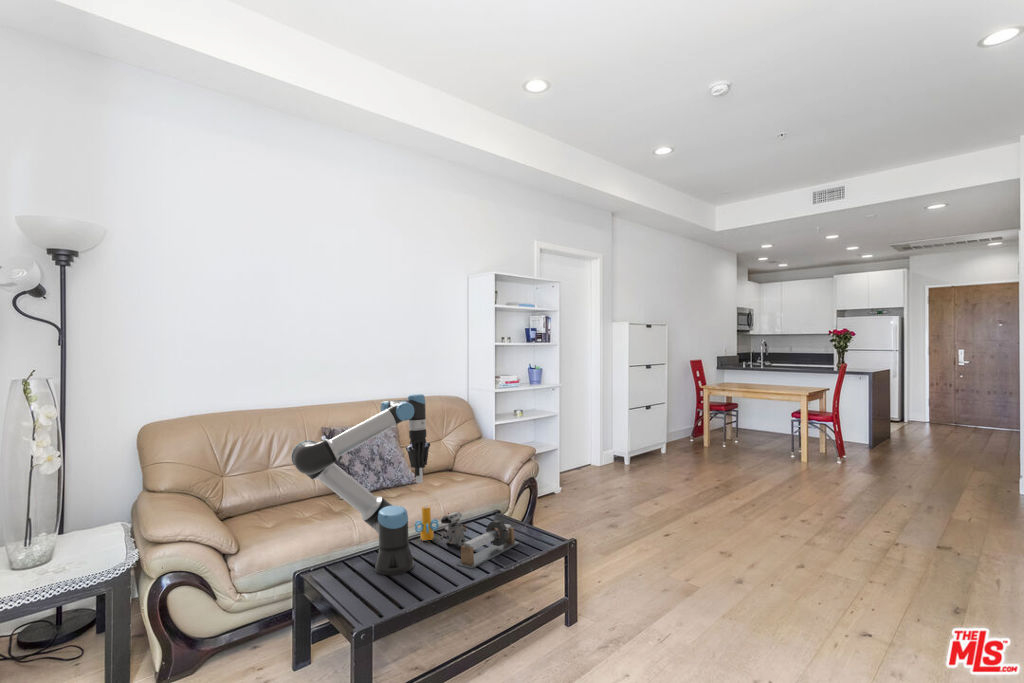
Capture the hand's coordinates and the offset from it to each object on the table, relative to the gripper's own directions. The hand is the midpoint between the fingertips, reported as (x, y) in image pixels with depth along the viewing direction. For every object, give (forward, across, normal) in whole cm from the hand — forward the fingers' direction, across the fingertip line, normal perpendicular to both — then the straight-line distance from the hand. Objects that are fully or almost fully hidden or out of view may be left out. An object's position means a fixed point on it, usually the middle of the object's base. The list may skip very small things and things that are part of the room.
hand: (419, 482), depth 228 cm
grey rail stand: (+29, +11, -29) cm, 43 cm away
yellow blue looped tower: (+30, +11, +8) cm, 33 cm away
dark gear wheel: (+27, +17, -29) cm, 43 cm away
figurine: (+30, +9, -10) cm, 33 cm away
